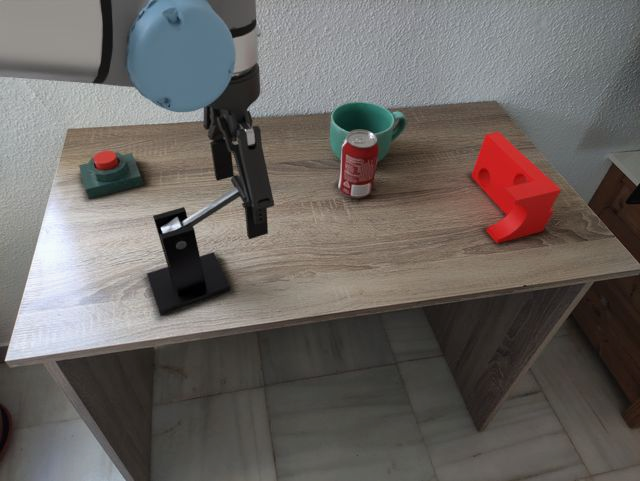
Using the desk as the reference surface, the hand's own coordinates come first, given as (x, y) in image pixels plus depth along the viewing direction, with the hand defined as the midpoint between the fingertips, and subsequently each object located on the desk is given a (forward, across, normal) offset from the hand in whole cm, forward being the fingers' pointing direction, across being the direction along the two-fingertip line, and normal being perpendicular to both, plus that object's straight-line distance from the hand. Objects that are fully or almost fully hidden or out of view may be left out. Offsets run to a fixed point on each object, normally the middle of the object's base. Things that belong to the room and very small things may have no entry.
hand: (240, 204), depth 68 cm
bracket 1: (+13, 0, +10) cm, 17 cm away
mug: (+14, +18, -34) cm, 41 cm away
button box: (+13, +32, +16) cm, 38 cm away
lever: (+1, 0, +4) cm, 5 cm away
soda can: (+14, +10, -26) cm, 31 cm away
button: (+10, +32, +16) cm, 37 cm away
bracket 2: (+14, -6, -48) cm, 51 cm away
